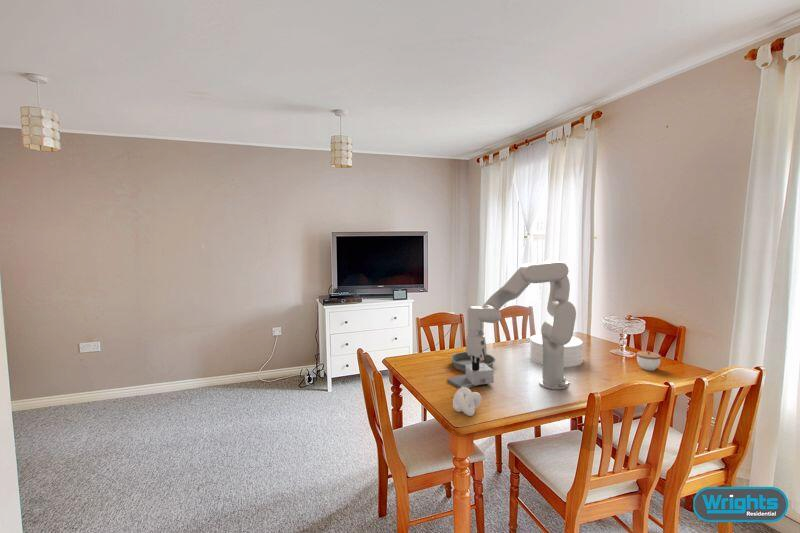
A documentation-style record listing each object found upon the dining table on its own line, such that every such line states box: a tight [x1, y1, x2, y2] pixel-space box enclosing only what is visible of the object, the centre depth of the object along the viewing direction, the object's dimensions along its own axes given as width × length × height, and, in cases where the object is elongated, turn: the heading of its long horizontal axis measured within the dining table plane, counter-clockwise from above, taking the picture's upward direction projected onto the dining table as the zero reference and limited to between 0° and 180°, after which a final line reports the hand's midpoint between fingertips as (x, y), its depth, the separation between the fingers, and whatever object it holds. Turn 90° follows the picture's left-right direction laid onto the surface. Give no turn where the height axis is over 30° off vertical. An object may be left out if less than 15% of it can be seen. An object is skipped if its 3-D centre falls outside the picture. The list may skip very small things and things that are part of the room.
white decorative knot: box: [452, 387, 482, 417], centre depth 157 cm, size 11×12×9 cm
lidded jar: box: [636, 350, 662, 371], centre depth 201 cm, size 11×11×9 cm
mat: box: [446, 373, 478, 389], centre depth 188 cm, size 12×14×1 cm
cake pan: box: [450, 351, 496, 372], centre depth 212 cm, size 25×25×4 cm
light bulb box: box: [465, 362, 495, 386], centre depth 186 cm, size 11×7×11 cm
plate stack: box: [529, 333, 584, 368], centre depth 220 cm, size 28×28×12 cm
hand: (475, 369), depth 182 cm, fingers closed
